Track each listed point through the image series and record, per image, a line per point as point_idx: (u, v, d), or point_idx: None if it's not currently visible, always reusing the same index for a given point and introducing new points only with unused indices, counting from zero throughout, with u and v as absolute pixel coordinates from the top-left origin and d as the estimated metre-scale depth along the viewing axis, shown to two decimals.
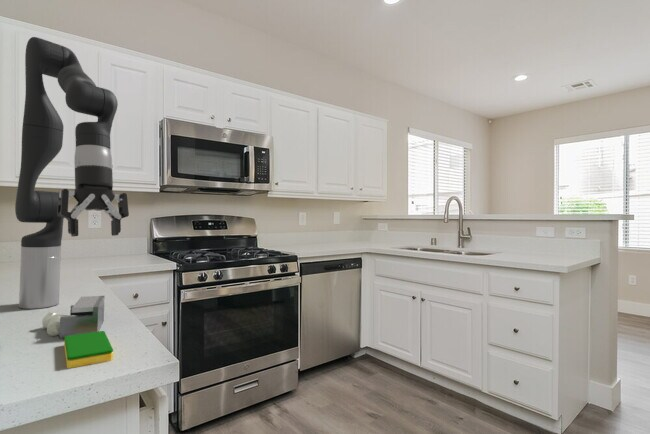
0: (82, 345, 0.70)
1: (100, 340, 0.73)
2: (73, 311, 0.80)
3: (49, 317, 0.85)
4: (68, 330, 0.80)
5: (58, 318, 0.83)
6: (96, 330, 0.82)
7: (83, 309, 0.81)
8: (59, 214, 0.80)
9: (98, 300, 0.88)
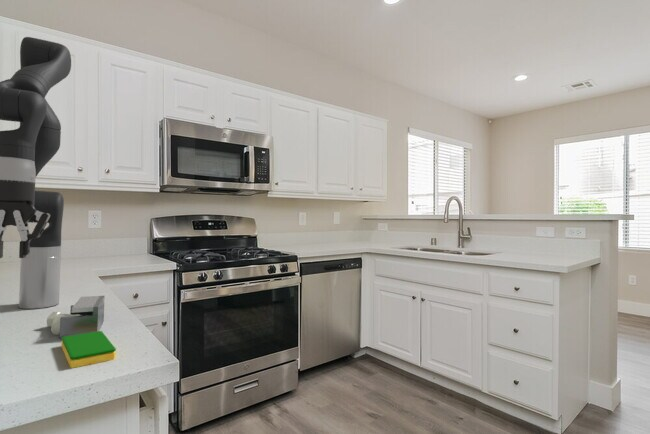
0: (83, 345, 0.70)
1: (100, 340, 0.74)
2: (73, 311, 0.80)
3: (53, 316, 0.86)
4: (68, 330, 0.80)
5: None
6: (96, 330, 0.82)
7: (83, 309, 0.81)
8: None
9: (98, 300, 0.88)
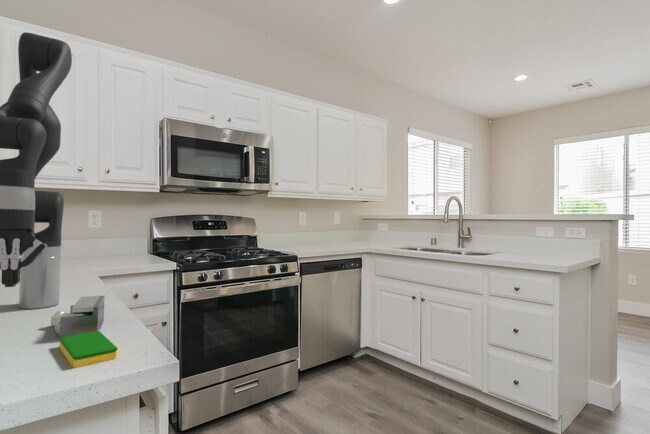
0: (83, 345, 0.70)
1: (100, 340, 0.74)
2: (73, 311, 0.80)
3: (57, 316, 0.86)
4: (68, 330, 0.80)
5: (65, 316, 0.85)
6: (96, 330, 0.82)
7: (83, 309, 0.81)
8: None
9: (98, 300, 0.88)
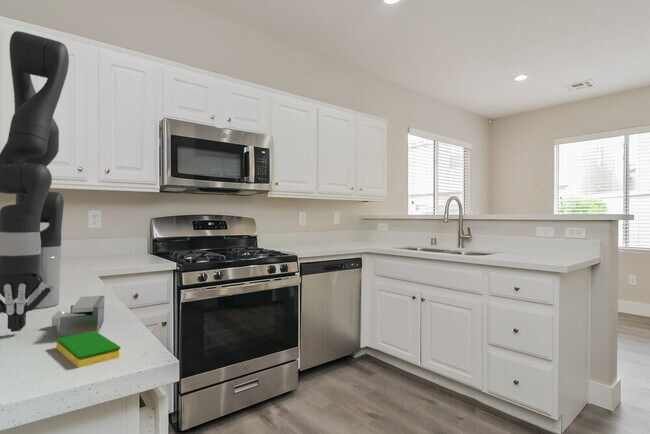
0: (84, 345, 0.71)
1: (100, 339, 0.74)
2: (73, 311, 0.80)
3: (58, 315, 0.86)
4: (68, 330, 0.80)
5: (67, 316, 0.85)
6: (96, 330, 0.82)
7: (83, 309, 0.81)
8: None
9: (98, 300, 0.88)
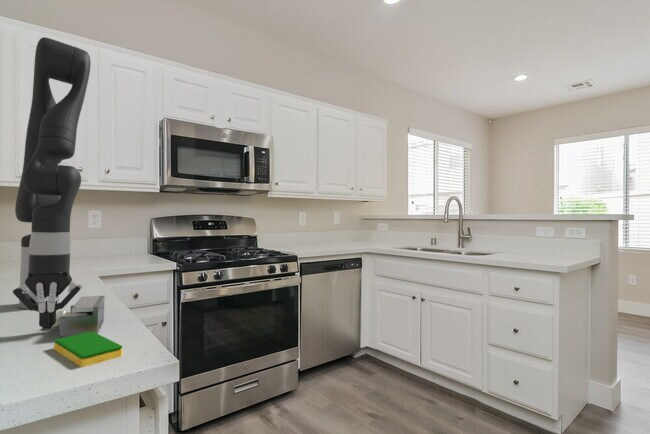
0: (85, 345, 0.71)
1: (99, 339, 0.74)
2: (73, 311, 0.80)
3: (60, 315, 0.86)
4: (68, 330, 0.80)
5: None
6: (96, 330, 0.82)
7: (83, 309, 0.81)
8: None
9: (98, 300, 0.88)
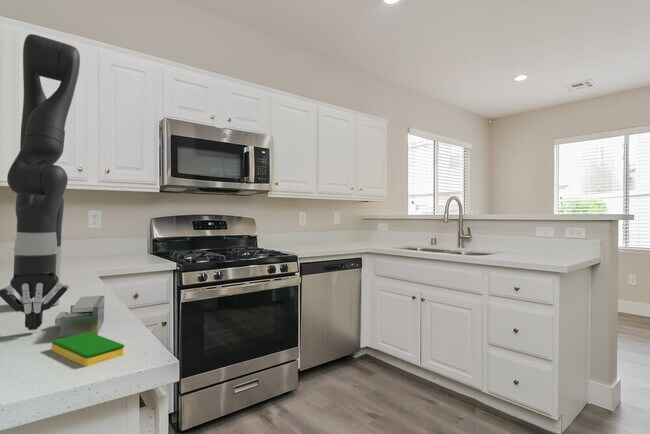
0: (86, 345, 0.71)
1: (99, 339, 0.74)
2: (73, 311, 0.80)
3: (62, 316, 0.86)
4: (68, 330, 0.80)
5: None
6: (96, 330, 0.82)
7: (83, 309, 0.81)
8: None
9: (98, 300, 0.88)
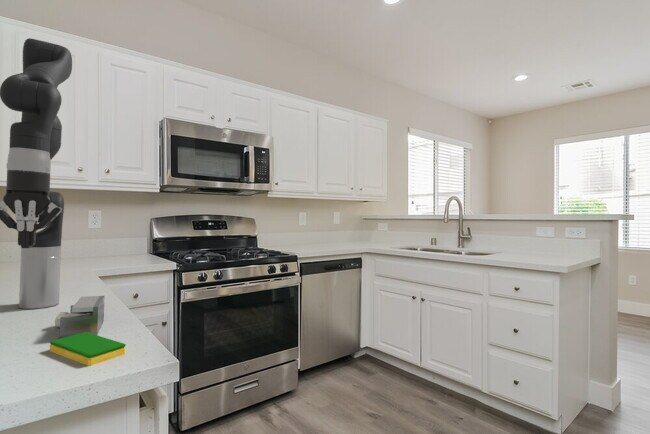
0: (87, 345, 0.71)
1: (99, 339, 0.74)
2: (73, 311, 0.80)
3: (62, 316, 0.86)
4: (68, 330, 0.80)
5: None
6: (96, 330, 0.82)
7: (83, 309, 0.81)
8: None
9: (98, 300, 0.88)
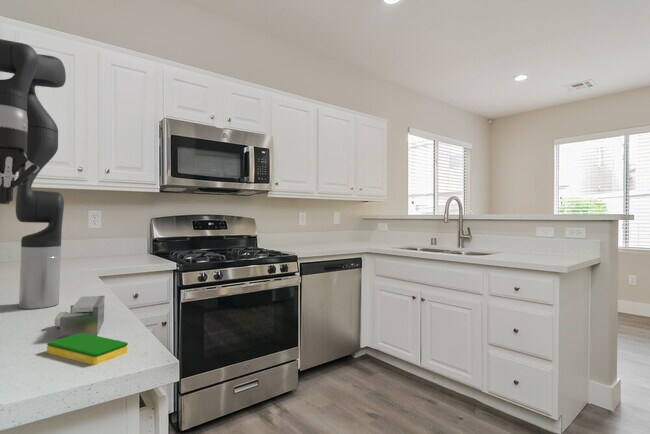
0: (88, 345, 0.71)
1: (98, 339, 0.74)
2: (73, 311, 0.80)
3: (62, 316, 0.86)
4: (68, 330, 0.80)
5: None
6: (96, 330, 0.82)
7: (83, 309, 0.81)
8: None
9: (98, 300, 0.88)
